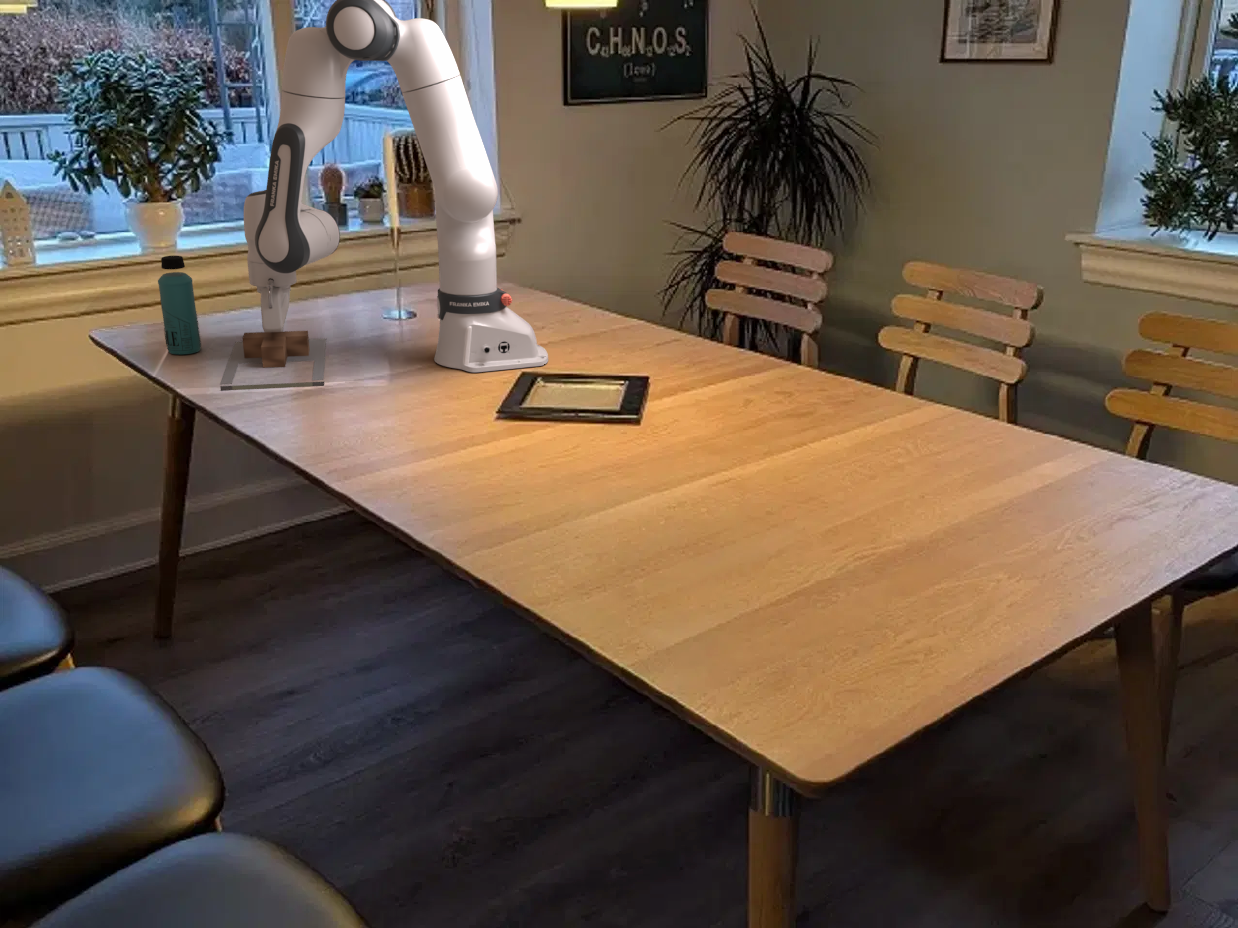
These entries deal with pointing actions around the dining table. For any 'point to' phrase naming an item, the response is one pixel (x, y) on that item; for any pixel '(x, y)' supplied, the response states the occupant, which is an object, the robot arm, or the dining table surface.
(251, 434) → the dining table surface
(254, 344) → the t block
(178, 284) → the beverage bottle
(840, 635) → the dining table surface
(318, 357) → the board
